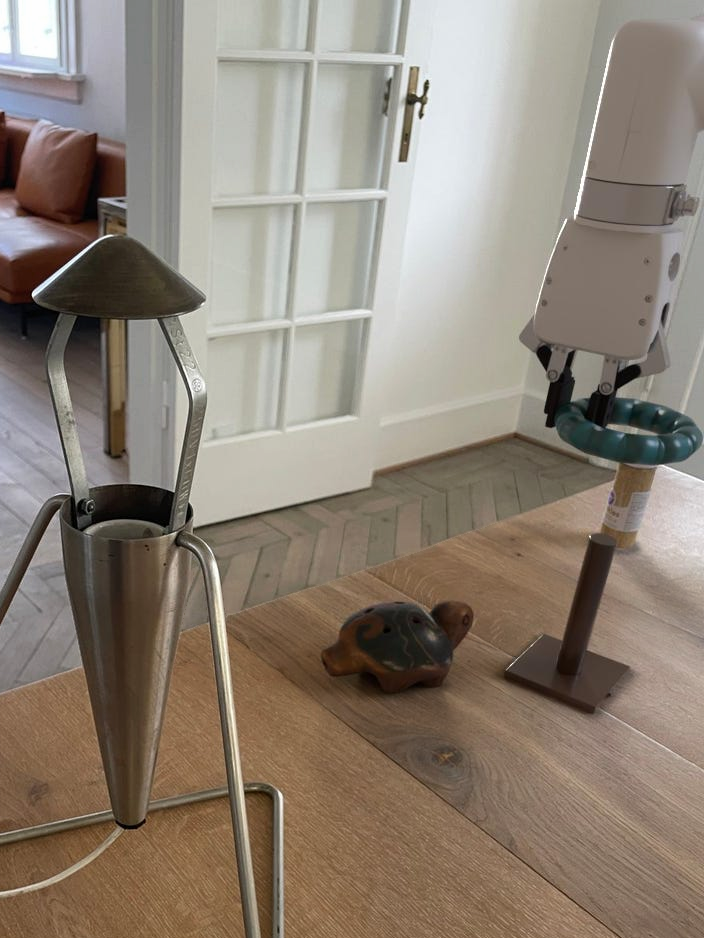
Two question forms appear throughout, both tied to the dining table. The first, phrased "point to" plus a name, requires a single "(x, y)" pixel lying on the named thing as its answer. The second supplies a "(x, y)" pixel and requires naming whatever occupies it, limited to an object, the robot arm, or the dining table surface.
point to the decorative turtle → (400, 643)
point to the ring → (668, 446)
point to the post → (575, 642)
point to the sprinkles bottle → (627, 502)
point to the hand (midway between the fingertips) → (573, 427)
